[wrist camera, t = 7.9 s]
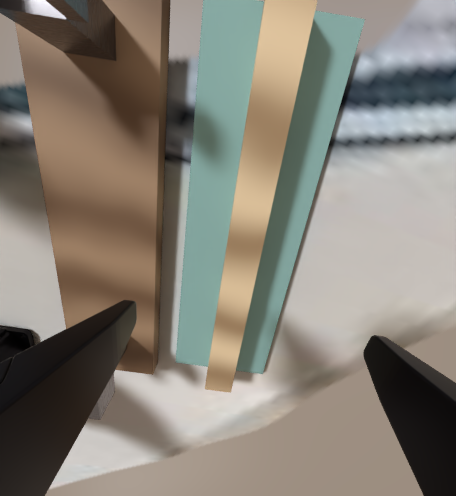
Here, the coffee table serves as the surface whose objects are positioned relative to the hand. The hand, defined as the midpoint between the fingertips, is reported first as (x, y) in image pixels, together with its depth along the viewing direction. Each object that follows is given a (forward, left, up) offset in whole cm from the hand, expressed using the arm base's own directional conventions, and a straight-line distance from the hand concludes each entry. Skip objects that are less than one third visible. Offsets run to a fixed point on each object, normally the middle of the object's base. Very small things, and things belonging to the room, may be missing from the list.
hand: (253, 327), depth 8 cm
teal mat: (0, 0, -10) cm, 10 cm away
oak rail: (0, 0, -10) cm, 10 cm away
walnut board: (0, +11, -10) cm, 15 cm away
